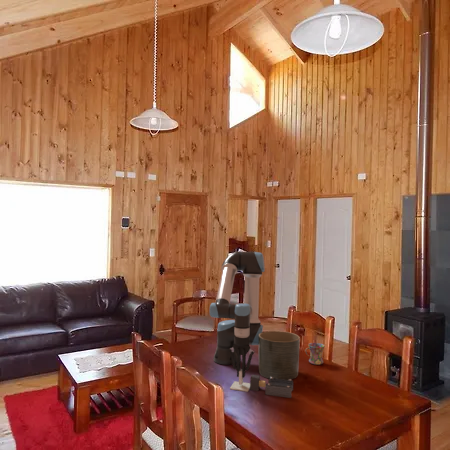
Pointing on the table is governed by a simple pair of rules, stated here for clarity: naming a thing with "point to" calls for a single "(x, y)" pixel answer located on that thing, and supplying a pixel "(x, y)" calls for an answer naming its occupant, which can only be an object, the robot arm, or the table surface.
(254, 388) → the plug
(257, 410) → the table surface
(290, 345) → the planter
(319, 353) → the mug
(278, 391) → the shaft channel
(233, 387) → the coaster
